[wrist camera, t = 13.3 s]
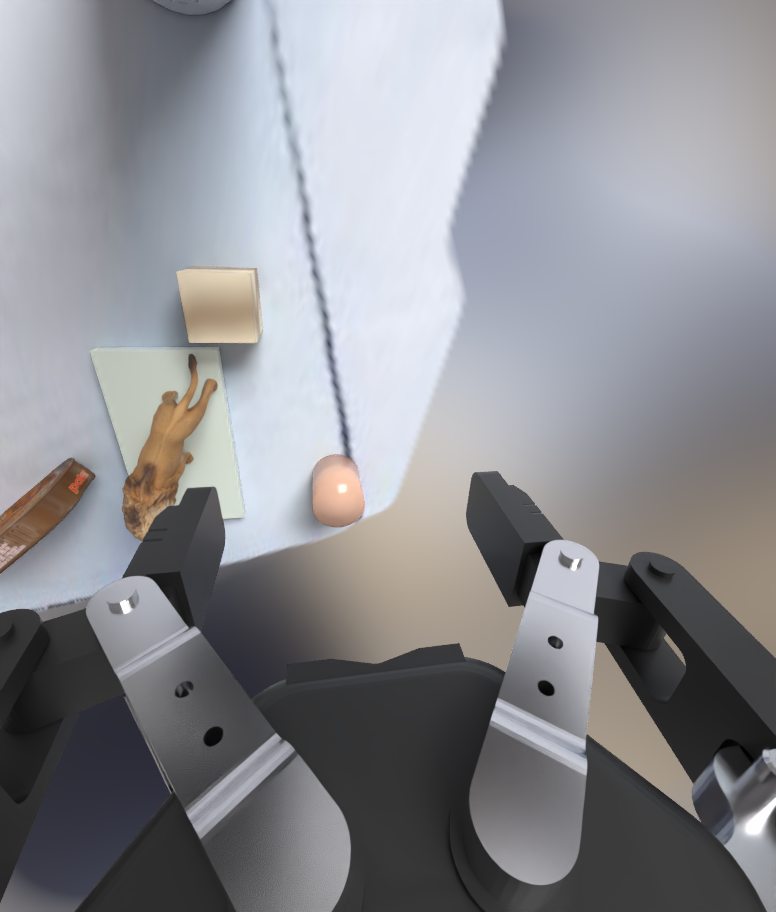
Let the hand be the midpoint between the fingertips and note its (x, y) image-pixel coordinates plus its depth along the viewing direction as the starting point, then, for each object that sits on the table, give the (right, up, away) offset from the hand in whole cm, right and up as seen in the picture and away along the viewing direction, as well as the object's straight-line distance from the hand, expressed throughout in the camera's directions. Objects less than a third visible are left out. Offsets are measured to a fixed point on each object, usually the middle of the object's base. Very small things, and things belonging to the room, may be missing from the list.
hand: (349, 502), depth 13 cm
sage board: (-19, +3, +27) cm, 33 cm away
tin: (-33, -3, +28) cm, 43 cm away
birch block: (-12, +15, +22) cm, 29 cm away
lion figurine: (-18, +4, +26) cm, 32 cm away
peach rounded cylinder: (-4, -1, +32) cm, 32 cm away
